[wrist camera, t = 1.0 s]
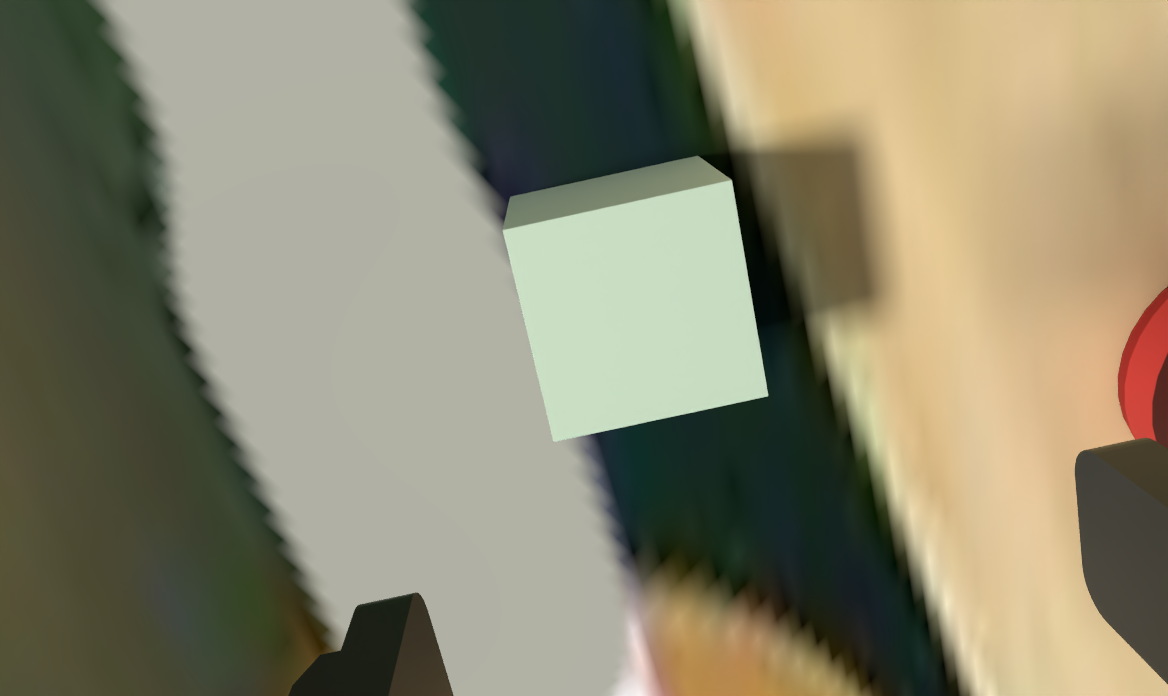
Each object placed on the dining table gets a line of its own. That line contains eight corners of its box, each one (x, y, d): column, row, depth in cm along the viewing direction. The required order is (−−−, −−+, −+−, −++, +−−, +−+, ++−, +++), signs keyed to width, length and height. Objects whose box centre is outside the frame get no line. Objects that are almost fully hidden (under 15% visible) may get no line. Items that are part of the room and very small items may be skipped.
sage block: (510, 196, 29) (502, 230, 24) (697, 155, 29) (731, 180, 23) (551, 373, 30) (553, 441, 25) (729, 335, 30) (768, 395, 25)
